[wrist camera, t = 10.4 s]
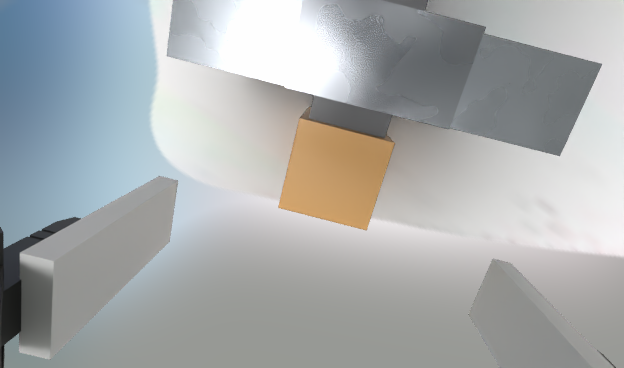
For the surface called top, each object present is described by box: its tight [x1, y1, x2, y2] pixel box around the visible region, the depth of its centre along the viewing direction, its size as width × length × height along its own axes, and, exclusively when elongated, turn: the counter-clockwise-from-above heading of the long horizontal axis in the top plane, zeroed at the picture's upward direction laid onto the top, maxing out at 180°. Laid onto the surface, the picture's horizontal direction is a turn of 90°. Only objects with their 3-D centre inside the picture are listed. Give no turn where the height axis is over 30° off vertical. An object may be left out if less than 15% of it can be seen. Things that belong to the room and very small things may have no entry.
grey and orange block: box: [279, 0, 428, 230], centre depth 25 cm, size 21×6×9 cm, turn 166°
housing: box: [167, 0, 602, 156], centre depth 22 cm, size 18×4×16 cm, turn 76°
